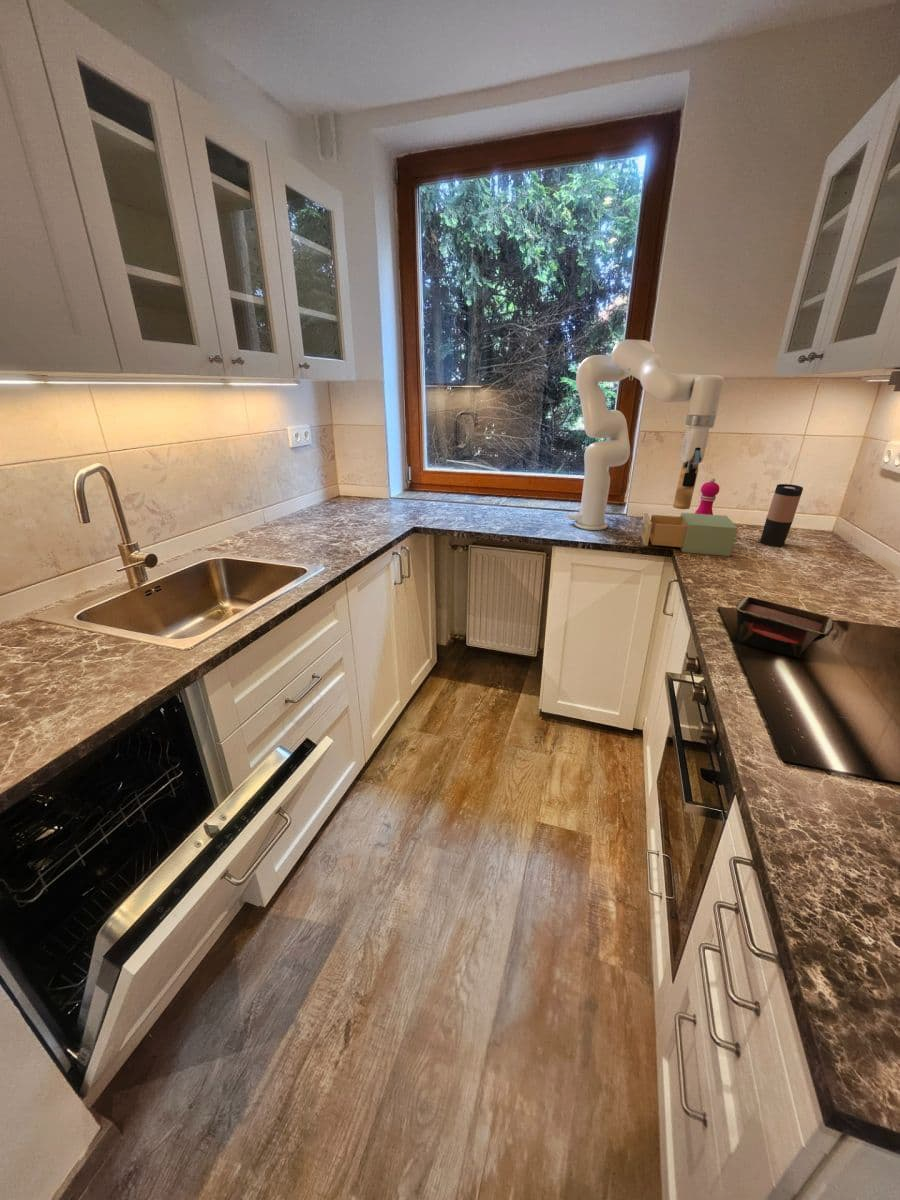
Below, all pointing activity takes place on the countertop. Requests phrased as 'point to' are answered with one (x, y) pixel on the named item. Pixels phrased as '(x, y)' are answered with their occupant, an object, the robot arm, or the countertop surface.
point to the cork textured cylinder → (683, 492)
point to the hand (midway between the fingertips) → (686, 483)
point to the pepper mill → (708, 497)
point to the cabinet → (708, 534)
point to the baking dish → (779, 626)
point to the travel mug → (781, 514)
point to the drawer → (662, 530)
